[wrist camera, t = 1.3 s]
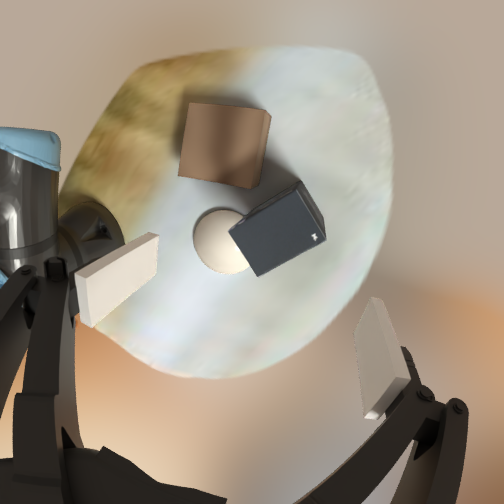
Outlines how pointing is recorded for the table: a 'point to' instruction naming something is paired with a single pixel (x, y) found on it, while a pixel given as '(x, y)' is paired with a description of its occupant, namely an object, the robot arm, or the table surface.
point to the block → (224, 144)
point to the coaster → (219, 243)
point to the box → (279, 229)
